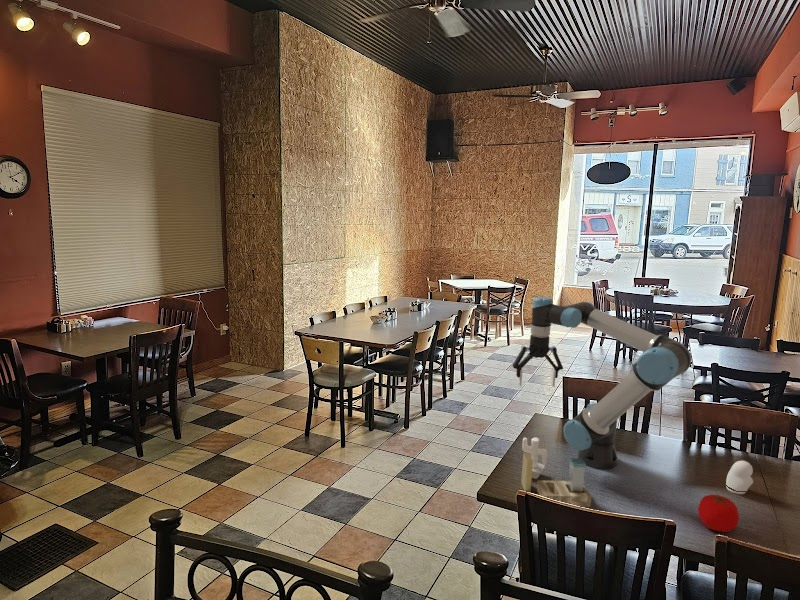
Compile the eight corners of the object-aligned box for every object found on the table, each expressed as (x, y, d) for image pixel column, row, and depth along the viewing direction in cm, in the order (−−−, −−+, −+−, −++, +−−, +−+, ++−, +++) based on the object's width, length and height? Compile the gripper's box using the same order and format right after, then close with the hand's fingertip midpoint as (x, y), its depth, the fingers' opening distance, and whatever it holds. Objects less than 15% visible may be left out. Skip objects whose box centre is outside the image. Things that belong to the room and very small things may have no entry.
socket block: (580, 491, 192) (581, 481, 191) (590, 507, 182) (591, 496, 181) (536, 490, 192) (537, 480, 191) (544, 506, 182) (545, 495, 181)
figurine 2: (741, 497, 190) (746, 467, 188) (721, 487, 197) (725, 457, 194) (753, 493, 193) (758, 463, 191) (732, 483, 200) (737, 454, 198)
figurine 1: (543, 482, 197) (546, 445, 194) (518, 476, 201) (520, 439, 198) (547, 474, 203) (550, 438, 200) (523, 468, 207) (525, 432, 205)
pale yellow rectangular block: (526, 483, 196) (528, 453, 194) (530, 491, 191) (532, 461, 188) (521, 483, 196) (523, 453, 194) (525, 491, 191) (527, 461, 188)
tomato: (699, 533, 169) (703, 503, 167) (693, 512, 180) (697, 484, 178) (740, 542, 165) (745, 511, 163) (731, 520, 176) (736, 491, 174)
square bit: (578, 494, 189) (581, 458, 186) (582, 501, 185) (585, 464, 182) (566, 494, 189) (570, 458, 186) (570, 500, 185) (573, 464, 182)
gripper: (567, 333, 217) (563, 382, 221) (507, 332, 217) (504, 381, 221) (573, 338, 210) (569, 388, 214) (511, 336, 210) (507, 387, 214)
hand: (536, 385), depth 218 cm, fingers open, 13 cm apart
